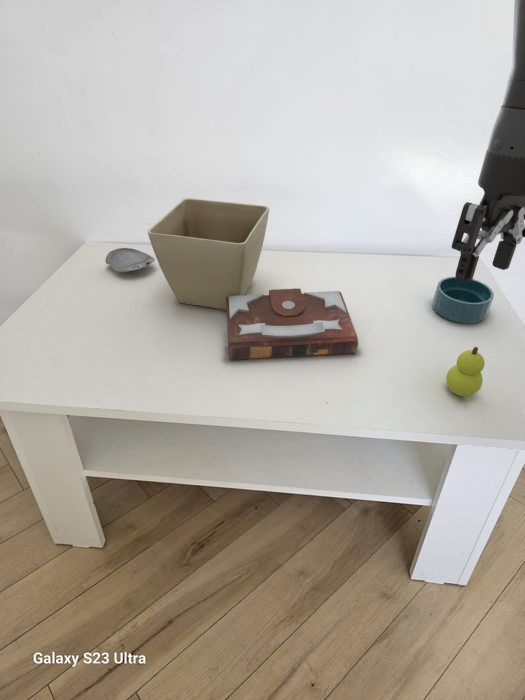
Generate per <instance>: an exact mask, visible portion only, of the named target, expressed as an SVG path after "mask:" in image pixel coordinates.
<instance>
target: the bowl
mask: <svg viewBox="0 0 525 700" xmlns="http://www.w3.org/2000/svg"><path fill="white" fill-rule="evenodd" d="M434 293H435V294H434V296H433V301H432V307H433V310H434V311H435V312H436V313H437V314H439V315H440V316H442V317H443V318H445V319H448V320H450V321H452V322H457V323H462V324H463V323H464V324H474V323H479V322H481V321H483V320H485V319H486V317H487V316H488V313H489V311H490V309H491V305H492V303H493V301H494V296H495V293H494V291H493V289H492V288H491V287H490V286H488V285H487V284H486V283H484V282H482V281H480V280H476V279H474V278H473V279H472V280H471V281H469V282H464V281H462V280H459V279H457V278H456V276H448V277H445V278H441V280H439V281H438V283H437V286H436V290H435V292H434Z"/></svg>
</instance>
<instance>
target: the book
mask: <svg viewBox="0 0 525 700" xmlns="http://www.w3.org/2000/svg"><path fill="white" fill-rule="evenodd" d="M226 304H227V310H226V323H227V324H226V325H227V342H228V343H227V344H228V358H229V360H231V361H232V360H245V359H246V360H247V359H265V358H282V357H283V358H284V357H302V356H315V355H316V356H320V355H337V354H353V353H354V354H356V353H357V351H358V347H359V338H358V335H357V332H356V329H355V326H354V324H353V321H352V317H351V315H350V312H349V310H348V307H347V305H346V302H345V299H344V296H343V294H342V291H340V290H327V291H307V292H306V291H305V292H302V289H301V288H300V287H299V288H279V289H269V290H268V294H265V293H264V294H261V293H260V294H245V295H238V296H229V297H226Z"/></svg>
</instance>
